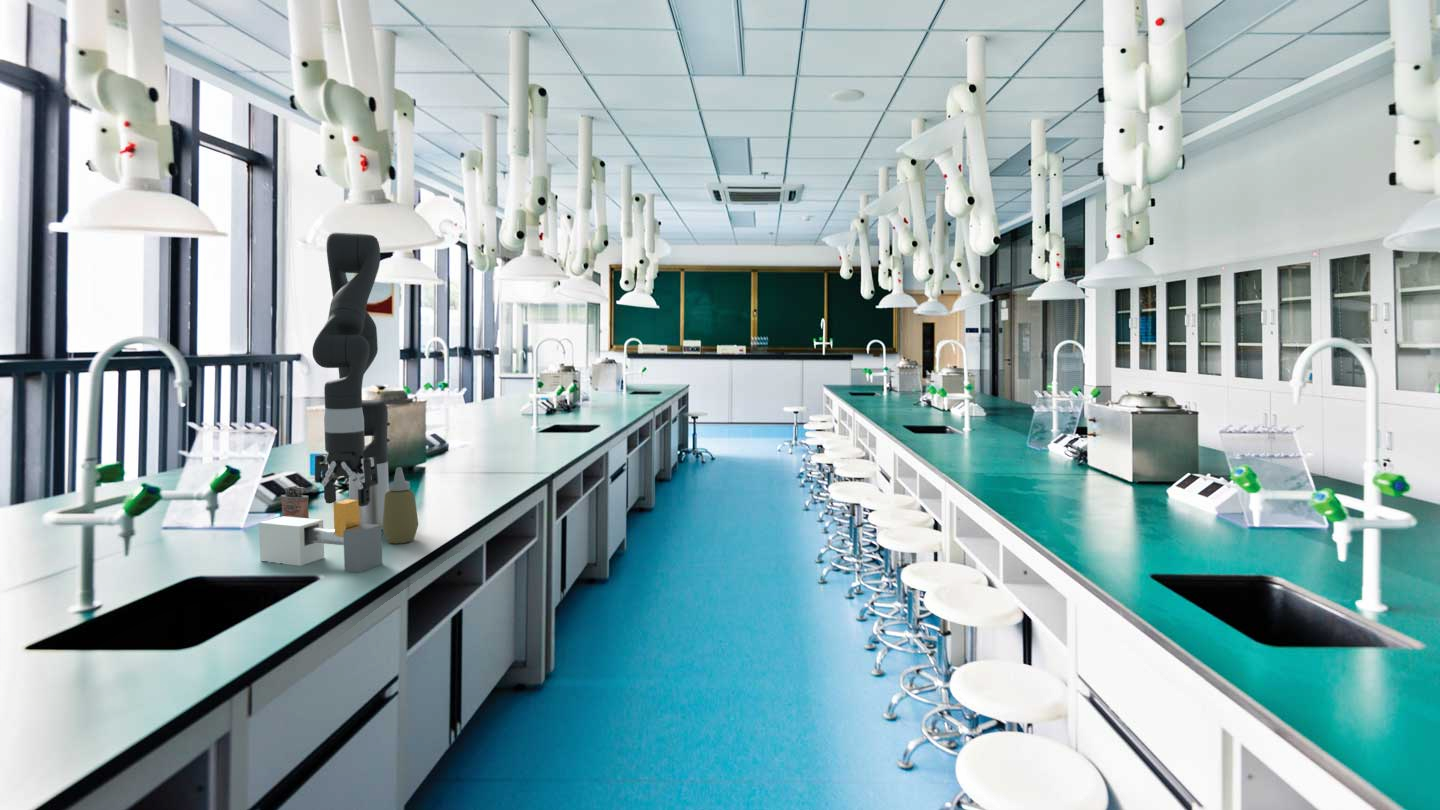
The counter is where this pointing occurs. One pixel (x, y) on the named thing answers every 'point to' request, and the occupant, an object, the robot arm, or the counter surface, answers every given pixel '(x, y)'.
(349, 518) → the slip tube
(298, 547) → the white box
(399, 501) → the squeeze bottle
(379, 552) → the gray box
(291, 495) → the lighter
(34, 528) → the counter surface
